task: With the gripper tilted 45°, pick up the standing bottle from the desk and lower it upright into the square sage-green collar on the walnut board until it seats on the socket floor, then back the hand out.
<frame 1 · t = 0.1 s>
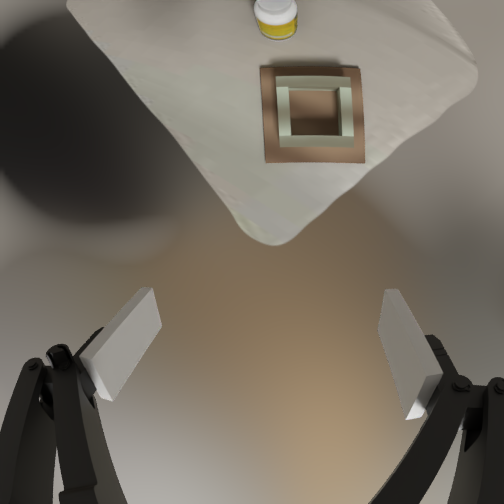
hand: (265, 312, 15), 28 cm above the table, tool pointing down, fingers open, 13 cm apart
supplement bottle: (278, 27, 32), on the table
socket board: (313, 113, 36), on the table
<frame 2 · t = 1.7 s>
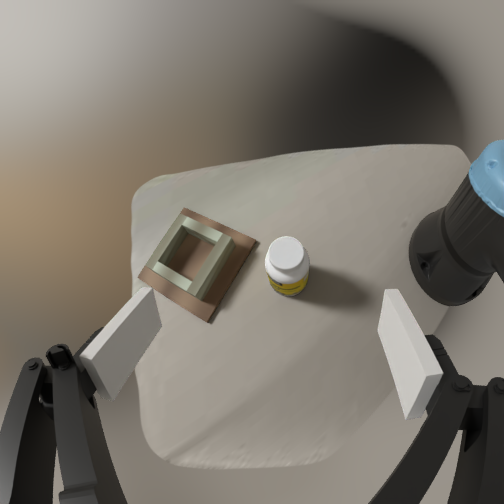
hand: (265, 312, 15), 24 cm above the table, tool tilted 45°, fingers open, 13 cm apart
supplement bottle: (288, 279, 41), on the table
socket board: (194, 260, 44), on the table
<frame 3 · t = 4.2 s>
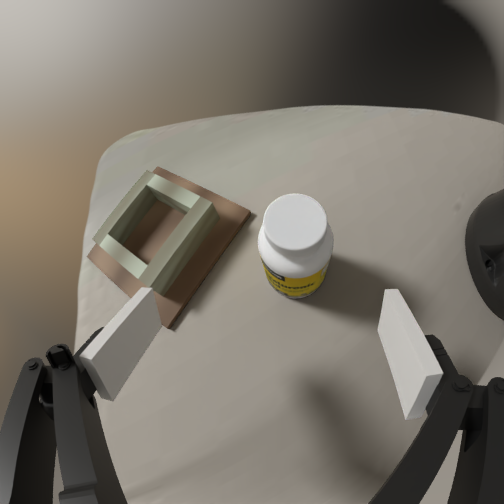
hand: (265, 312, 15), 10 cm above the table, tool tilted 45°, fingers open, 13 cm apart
supplement bottle: (296, 272, 26), on the table
socket board: (161, 237, 30), on the table
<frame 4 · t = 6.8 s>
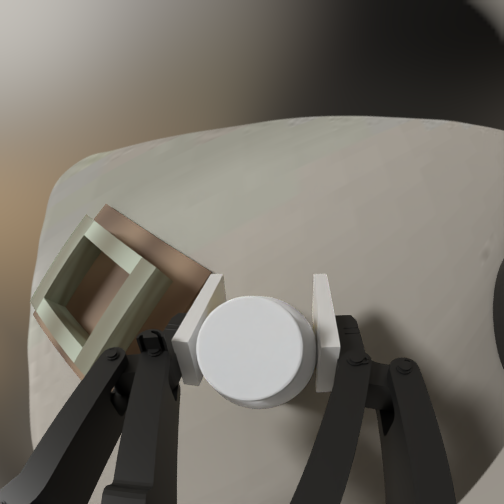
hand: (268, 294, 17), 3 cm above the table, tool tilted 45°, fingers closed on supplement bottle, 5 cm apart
supplement bottle: (270, 358, 19), on the table, touching gripper
socket board: (106, 300, 22), on the table
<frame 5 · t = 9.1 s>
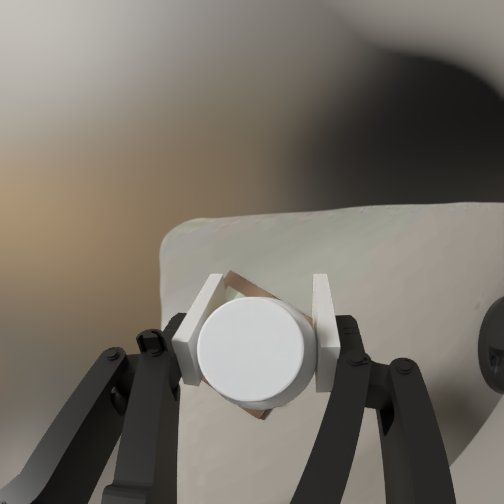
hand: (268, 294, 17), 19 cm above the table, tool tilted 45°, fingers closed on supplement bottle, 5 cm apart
supplement bottle: (271, 359, 19), point 16 cm above the table, touching gripper
socket board: (244, 343, 35), on the table
when the fingers open (5 cm above the table, at t = 11.5 s): supplement bottle drops 1 cm, resting on socket board.
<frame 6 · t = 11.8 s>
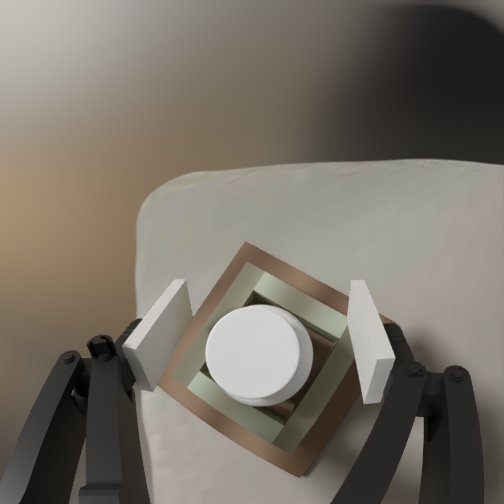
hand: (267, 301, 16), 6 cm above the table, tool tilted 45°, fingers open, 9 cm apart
supplement bottle: (270, 360, 20), resting on socket board
socket board: (272, 359, 21), on the table
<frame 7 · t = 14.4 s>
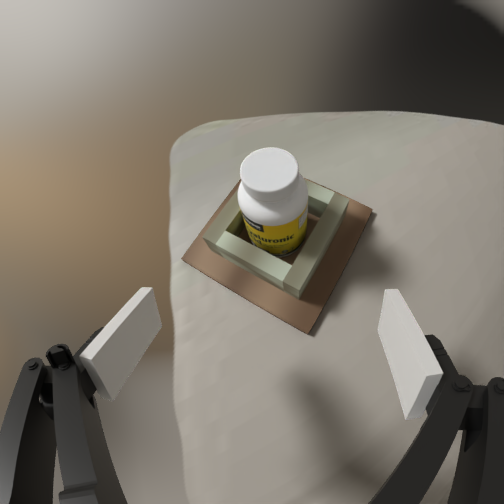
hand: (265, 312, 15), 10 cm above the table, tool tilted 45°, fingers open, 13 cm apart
supplement bottle: (278, 234, 28), resting on socket board
socket board: (279, 235, 28), on the table
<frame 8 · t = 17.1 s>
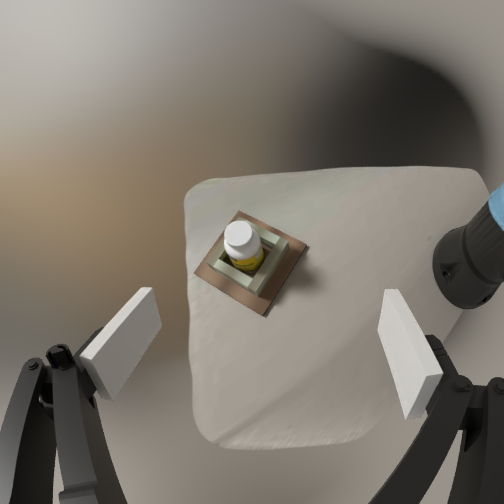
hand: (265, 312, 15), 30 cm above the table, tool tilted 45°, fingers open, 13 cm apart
supplement bottle: (249, 259, 49), resting on socket board
socket board: (250, 260, 49), on the table
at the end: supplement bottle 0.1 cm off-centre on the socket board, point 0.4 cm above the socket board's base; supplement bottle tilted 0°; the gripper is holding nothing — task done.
